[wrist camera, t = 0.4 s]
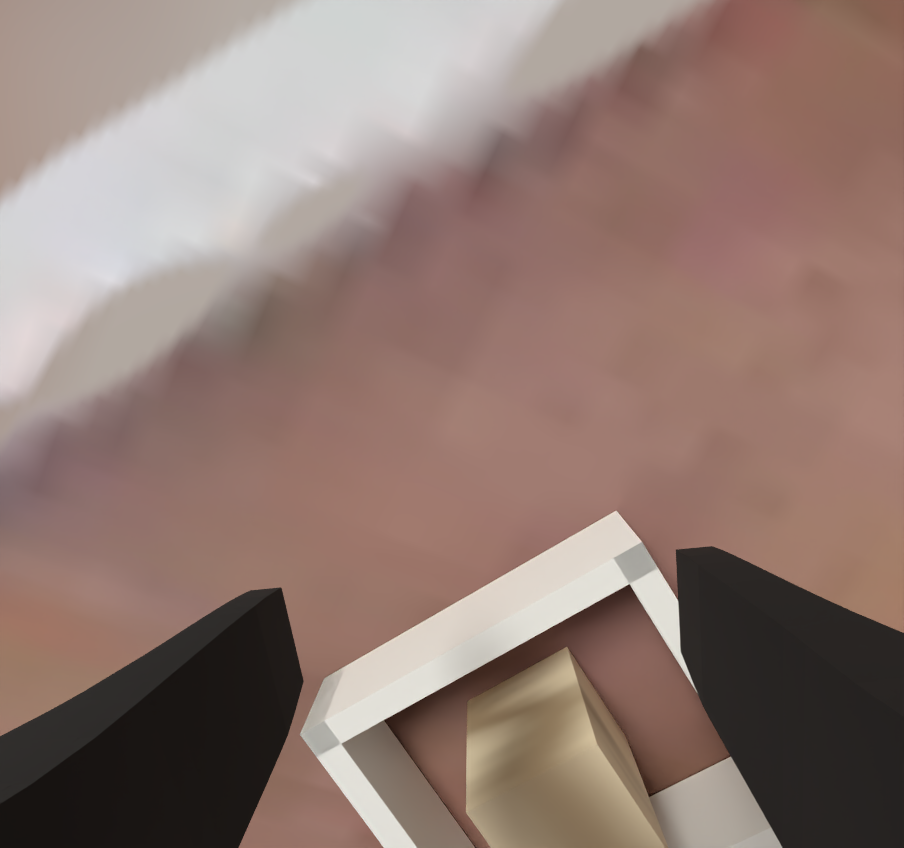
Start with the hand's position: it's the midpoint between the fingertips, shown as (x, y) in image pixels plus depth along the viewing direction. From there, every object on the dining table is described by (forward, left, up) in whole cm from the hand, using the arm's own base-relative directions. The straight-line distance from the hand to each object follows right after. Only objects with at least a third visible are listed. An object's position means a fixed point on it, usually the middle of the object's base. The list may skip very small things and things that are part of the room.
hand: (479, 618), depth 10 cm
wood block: (-3, -10, -10) cm, 14 cm away
